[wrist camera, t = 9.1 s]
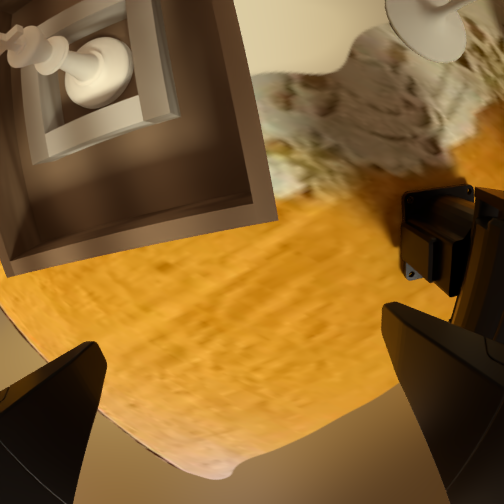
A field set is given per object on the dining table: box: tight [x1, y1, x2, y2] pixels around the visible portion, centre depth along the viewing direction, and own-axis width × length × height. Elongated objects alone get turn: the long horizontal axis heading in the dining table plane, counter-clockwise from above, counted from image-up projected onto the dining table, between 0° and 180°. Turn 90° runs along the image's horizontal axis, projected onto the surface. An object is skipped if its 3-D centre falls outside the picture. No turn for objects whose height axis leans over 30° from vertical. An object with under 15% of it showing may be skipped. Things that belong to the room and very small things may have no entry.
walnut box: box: [0, 0, 278, 278], centre depth 14 cm, size 18×22×5 cm
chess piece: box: [0, 24, 134, 109], centre depth 10 cm, size 5×5×10 cm
